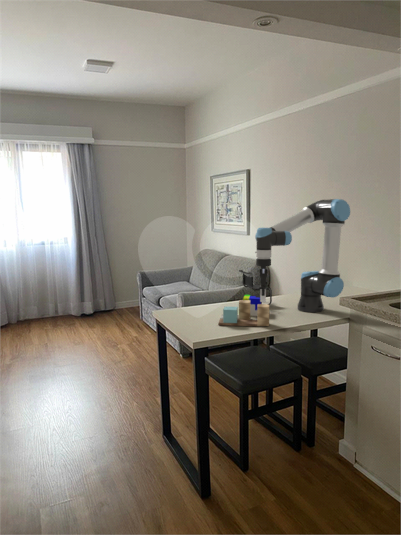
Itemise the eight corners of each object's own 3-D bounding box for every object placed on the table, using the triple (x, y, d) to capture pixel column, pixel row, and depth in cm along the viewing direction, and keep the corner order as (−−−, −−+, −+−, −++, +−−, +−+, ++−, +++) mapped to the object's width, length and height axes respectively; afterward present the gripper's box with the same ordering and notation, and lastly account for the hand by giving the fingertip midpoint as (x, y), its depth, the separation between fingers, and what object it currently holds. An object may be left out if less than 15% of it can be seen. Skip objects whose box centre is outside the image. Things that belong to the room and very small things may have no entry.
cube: (237, 319, 214) (237, 306, 213) (236, 323, 207) (236, 310, 206) (224, 319, 215) (224, 306, 214) (223, 322, 208) (223, 309, 207)
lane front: (268, 322, 212) (269, 303, 211) (269, 326, 204) (269, 307, 203) (220, 320, 216) (219, 302, 215) (218, 325, 208) (218, 306, 207)
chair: (237, 303, 256) (237, 269, 253) (261, 301, 262) (262, 268, 259) (247, 308, 244) (247, 272, 241) (272, 305, 250) (272, 270, 247)
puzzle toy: (260, 316, 226) (261, 298, 225) (243, 315, 228) (243, 298, 227) (261, 311, 236) (261, 295, 234) (244, 311, 238) (244, 294, 236)
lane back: (250, 317, 222) (250, 299, 221) (249, 321, 214) (250, 303, 213) (221, 316, 225) (221, 299, 223) (220, 320, 217) (220, 302, 215)
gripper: (256, 255, 216) (256, 293, 219) (255, 260, 192) (255, 304, 195) (270, 255, 215) (269, 294, 218) (271, 261, 191) (270, 304, 194)
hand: (262, 299), depth 206 cm, fingers open, 13 cm apart
